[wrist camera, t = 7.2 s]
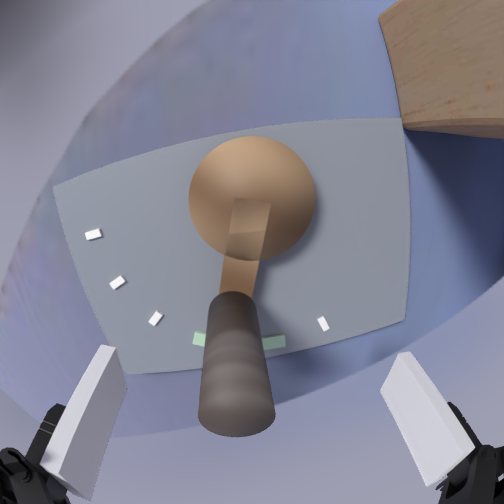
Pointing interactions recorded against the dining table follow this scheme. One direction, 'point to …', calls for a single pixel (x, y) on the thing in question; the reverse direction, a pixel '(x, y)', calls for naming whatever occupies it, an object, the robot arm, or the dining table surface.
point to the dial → (244, 269)
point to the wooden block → (448, 64)
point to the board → (269, 270)
